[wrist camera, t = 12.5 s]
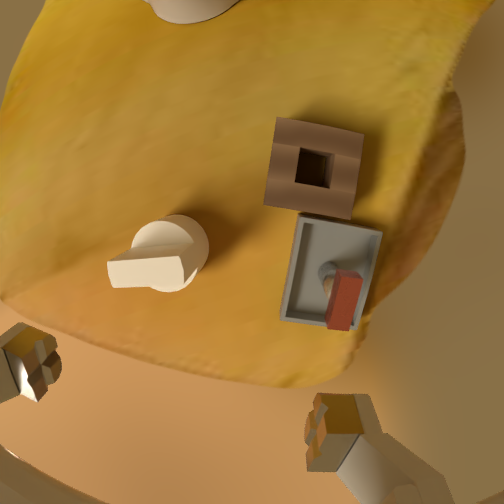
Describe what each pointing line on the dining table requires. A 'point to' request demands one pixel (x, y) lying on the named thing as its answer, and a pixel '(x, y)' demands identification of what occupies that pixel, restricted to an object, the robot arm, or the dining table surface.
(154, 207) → the dining table surface
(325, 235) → the tray
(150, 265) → the base with upright slab
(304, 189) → the wooden square hole block
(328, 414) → the robot arm
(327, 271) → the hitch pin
